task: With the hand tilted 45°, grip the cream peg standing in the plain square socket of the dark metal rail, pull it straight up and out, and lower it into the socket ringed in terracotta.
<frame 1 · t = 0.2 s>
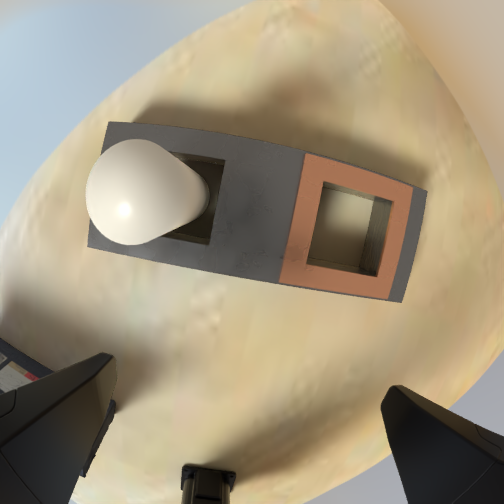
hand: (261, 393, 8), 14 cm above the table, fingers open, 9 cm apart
rail: (262, 210, 21), on the table
peg: (183, 196, 20), resting in rail
vhs cassette tape: (47, 373, 23), on the table
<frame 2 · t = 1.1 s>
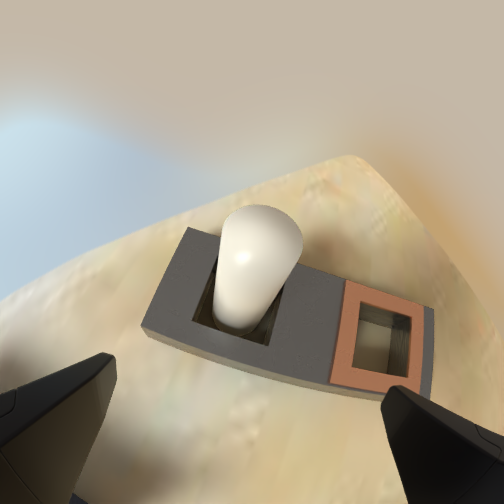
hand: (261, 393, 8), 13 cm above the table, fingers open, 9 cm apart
rail: (304, 333, 23), on the table
peg: (236, 312, 23), resting in rail
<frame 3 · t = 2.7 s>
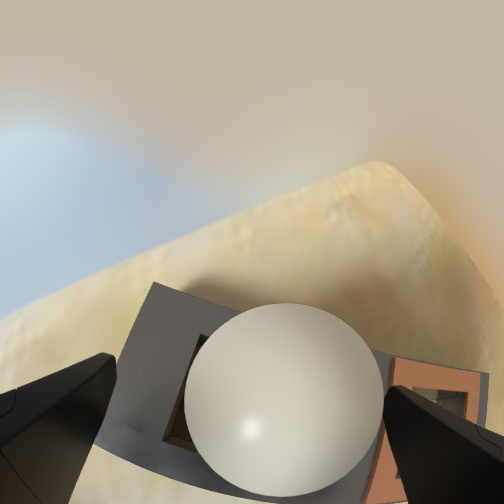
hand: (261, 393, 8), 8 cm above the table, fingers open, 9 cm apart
rail: (330, 428, 14), on the table
peg: (232, 407, 14), resting in rail
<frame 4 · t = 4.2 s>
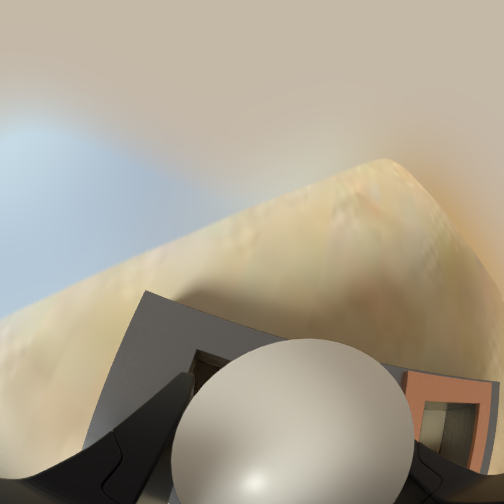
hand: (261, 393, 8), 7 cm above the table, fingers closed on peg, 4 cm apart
rail: (337, 444, 12), on the table
peg: (233, 424, 12), resting in rail, touching gripper
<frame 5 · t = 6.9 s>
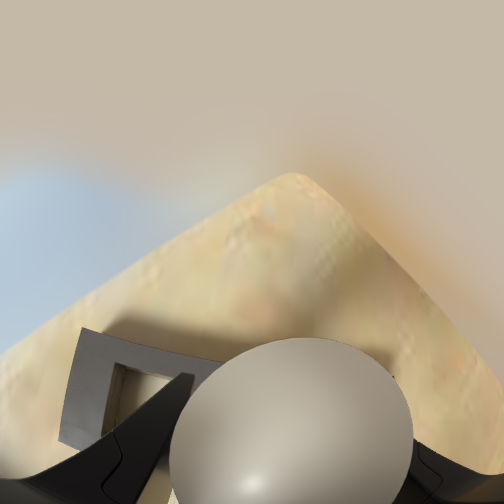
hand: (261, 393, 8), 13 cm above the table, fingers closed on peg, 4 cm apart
rail: (232, 426, 18), on the table
peg: (232, 424, 12), point 7 cm above the table, touching gripper
when the fingers open (8 cm above the table, at t = 9.6 s): peg drops 1 cm, resting in rail.
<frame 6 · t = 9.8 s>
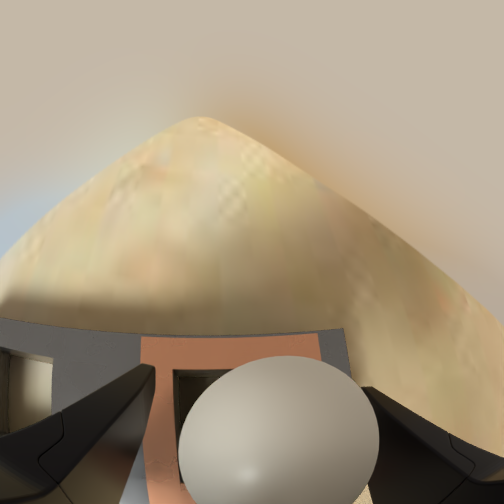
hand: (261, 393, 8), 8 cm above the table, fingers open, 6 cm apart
rail: (124, 420, 12), on the table
peg: (231, 423, 13), resting in rail
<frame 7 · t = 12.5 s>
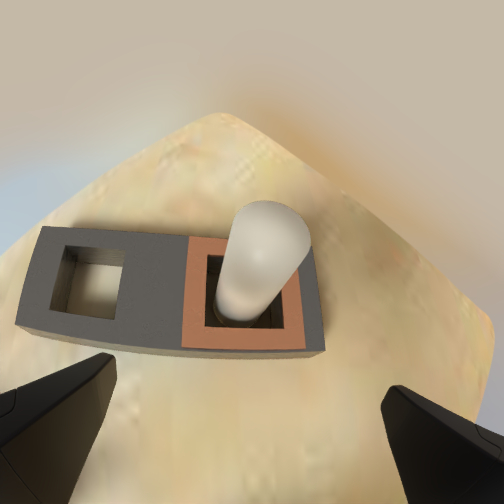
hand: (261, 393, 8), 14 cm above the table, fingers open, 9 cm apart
rail: (164, 301, 22), on the table
peg: (237, 306, 23), resting in rail
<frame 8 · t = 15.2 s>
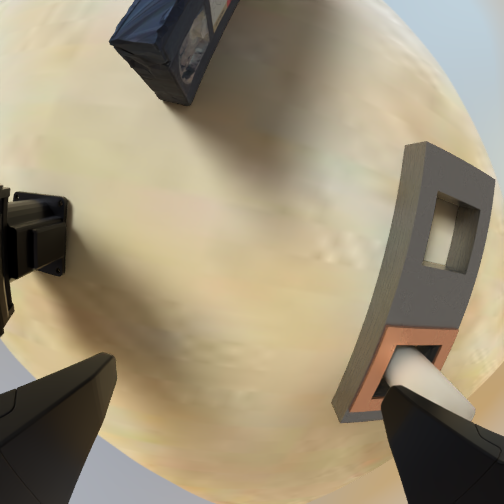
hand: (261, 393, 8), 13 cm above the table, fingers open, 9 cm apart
rail: (414, 295, 22), on the table
peg: (392, 353, 23), resting in rail
vhs cassette tape: (218, 12, 16), on the table
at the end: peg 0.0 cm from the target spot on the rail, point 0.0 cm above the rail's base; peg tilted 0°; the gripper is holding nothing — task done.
